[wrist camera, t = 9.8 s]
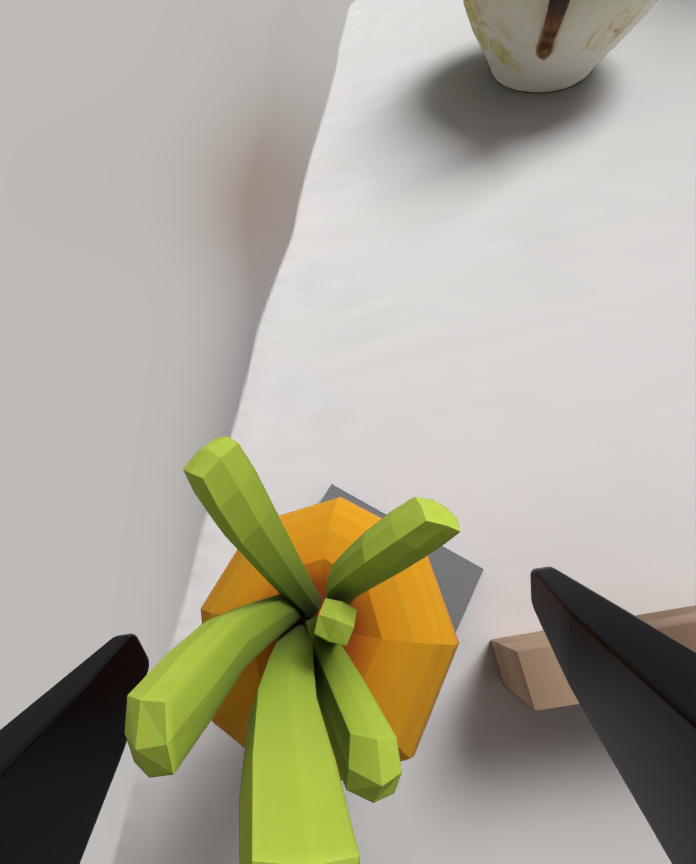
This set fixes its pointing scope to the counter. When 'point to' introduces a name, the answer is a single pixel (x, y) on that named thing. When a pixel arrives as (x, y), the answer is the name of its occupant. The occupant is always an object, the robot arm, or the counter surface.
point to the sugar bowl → (550, 37)
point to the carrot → (303, 659)
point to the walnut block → (540, 671)
